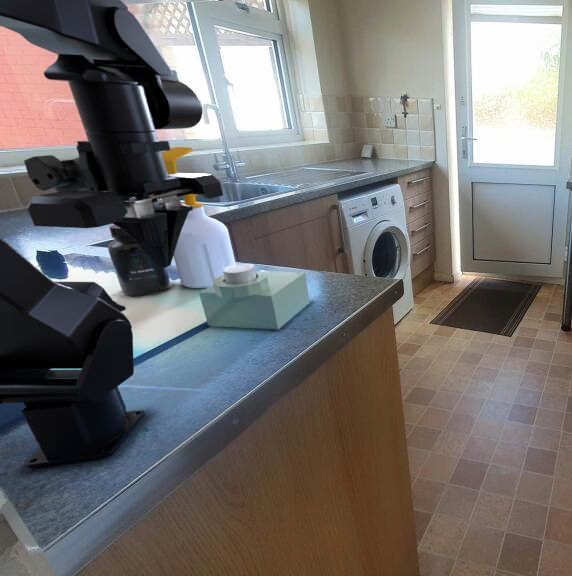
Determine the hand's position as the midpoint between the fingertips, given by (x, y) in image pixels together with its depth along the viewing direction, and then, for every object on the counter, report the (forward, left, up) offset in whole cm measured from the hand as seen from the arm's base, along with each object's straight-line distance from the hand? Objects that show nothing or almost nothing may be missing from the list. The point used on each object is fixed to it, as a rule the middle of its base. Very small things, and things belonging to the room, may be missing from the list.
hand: (163, 266), depth 50 cm
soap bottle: (+30, +8, -13) cm, 34 cm away
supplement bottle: (+27, +17, -13) cm, 35 cm away
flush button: (+10, -5, -6) cm, 12 cm away
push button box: (+12, -5, -13) cm, 19 cm away
